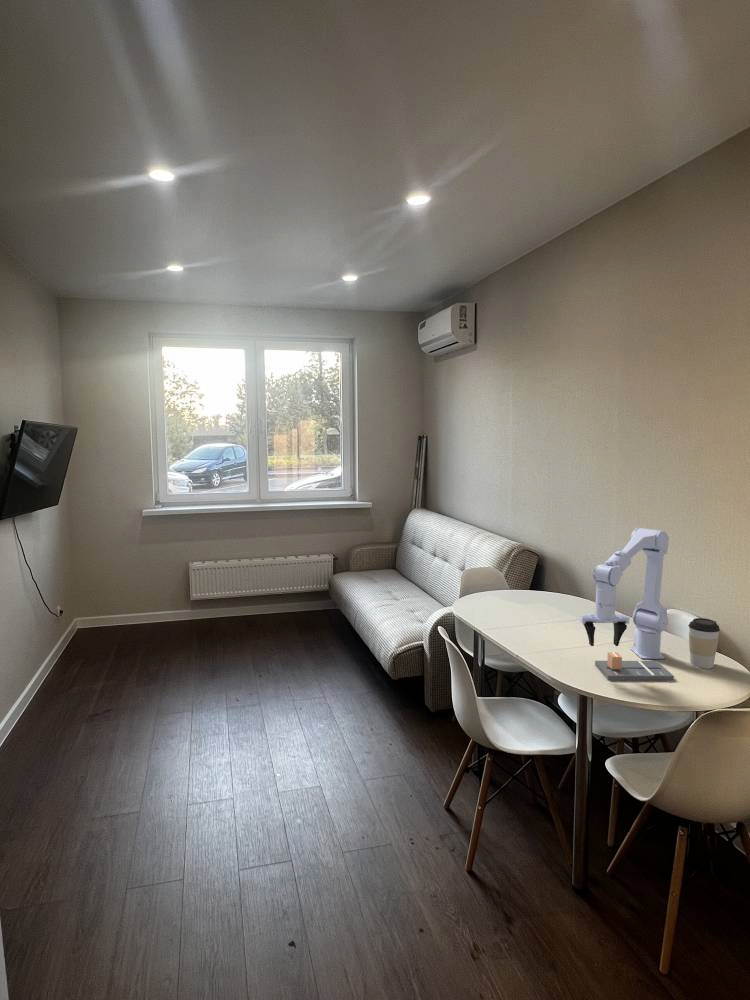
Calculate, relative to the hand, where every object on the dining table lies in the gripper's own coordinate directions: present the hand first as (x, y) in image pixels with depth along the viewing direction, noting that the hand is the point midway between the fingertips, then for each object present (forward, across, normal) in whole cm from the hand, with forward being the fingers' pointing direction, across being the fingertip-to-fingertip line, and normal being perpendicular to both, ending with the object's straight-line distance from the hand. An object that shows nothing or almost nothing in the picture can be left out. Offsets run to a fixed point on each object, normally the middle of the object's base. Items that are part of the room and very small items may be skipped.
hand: (603, 645), depth 189 cm
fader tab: (+8, +4, +1) cm, 9 cm away
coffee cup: (+10, +35, +8) cm, 37 cm away
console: (+10, +10, +1) cm, 14 cm away
